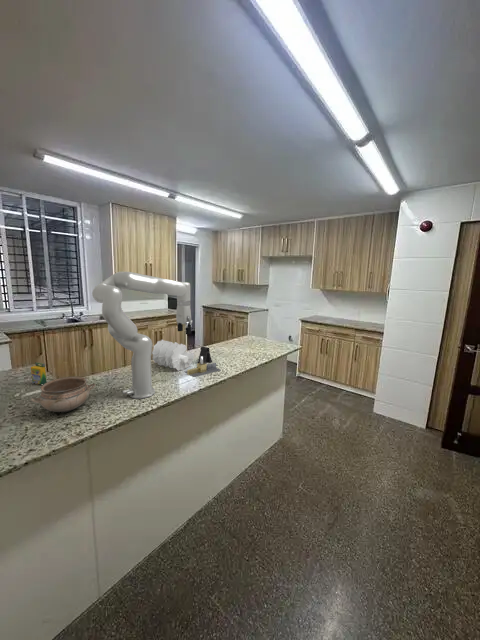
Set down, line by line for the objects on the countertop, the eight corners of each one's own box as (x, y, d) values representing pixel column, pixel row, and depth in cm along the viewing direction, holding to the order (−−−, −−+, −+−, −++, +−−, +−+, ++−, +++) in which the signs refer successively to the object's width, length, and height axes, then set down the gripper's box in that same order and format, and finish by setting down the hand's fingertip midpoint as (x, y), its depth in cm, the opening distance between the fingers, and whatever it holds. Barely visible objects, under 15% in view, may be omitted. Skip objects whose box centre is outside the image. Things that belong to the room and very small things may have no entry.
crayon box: (32, 383, 150) (29, 363, 148) (37, 381, 153) (35, 362, 151) (41, 385, 148) (39, 365, 146) (47, 383, 151) (45, 363, 149)
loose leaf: (189, 375, 166) (189, 368, 166) (186, 373, 170) (186, 366, 169) (206, 371, 174) (206, 364, 174) (202, 369, 178) (202, 362, 177)
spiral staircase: (180, 378, 173) (154, 369, 185) (197, 361, 185) (171, 353, 197) (172, 357, 163) (144, 348, 176) (190, 340, 175) (163, 333, 188)
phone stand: (203, 366, 186) (203, 349, 184) (197, 364, 190) (197, 347, 188) (212, 362, 193) (212, 346, 191) (206, 361, 197) (206, 345, 195)
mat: (193, 378, 164) (193, 377, 164) (184, 372, 173) (183, 371, 173) (221, 370, 177) (221, 370, 177) (211, 365, 186) (211, 365, 186)
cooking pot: (89, 394, 139) (88, 371, 137) (103, 407, 126) (101, 382, 124) (29, 410, 121) (26, 384, 119) (37, 427, 108) (34, 399, 106)
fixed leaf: (201, 372, 173) (201, 357, 171) (199, 370, 175) (199, 356, 173) (217, 368, 181) (217, 354, 179) (214, 367, 183) (214, 353, 181)
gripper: (171, 302, 160) (171, 330, 163) (185, 305, 147) (185, 336, 150) (182, 302, 165) (182, 329, 168) (197, 304, 152) (197, 334, 155)
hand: (184, 332), depth 159 cm, fingers open, 9 cm apart
